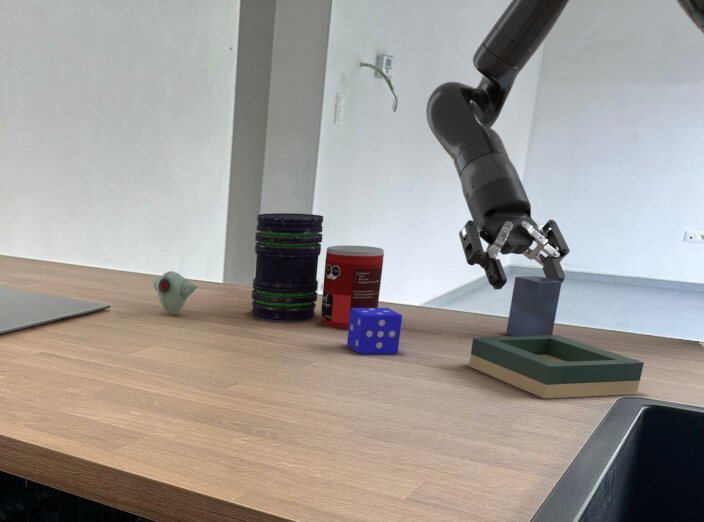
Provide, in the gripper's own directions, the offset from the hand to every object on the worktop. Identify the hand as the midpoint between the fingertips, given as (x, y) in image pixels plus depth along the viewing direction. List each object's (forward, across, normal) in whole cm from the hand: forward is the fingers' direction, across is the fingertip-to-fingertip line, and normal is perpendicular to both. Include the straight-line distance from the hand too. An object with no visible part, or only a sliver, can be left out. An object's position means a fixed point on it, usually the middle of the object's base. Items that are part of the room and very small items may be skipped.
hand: (529, 285), depth 118 cm
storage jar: (-8, -28, +18) cm, 34 cm away
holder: (+21, -12, -11) cm, 26 cm away
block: (+6, 0, +4) cm, 7 cm away
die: (+9, -25, +1) cm, 27 cm away
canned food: (-2, -21, +12) cm, 25 cm away
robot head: (-10, -45, +20) cm, 50 cm away
